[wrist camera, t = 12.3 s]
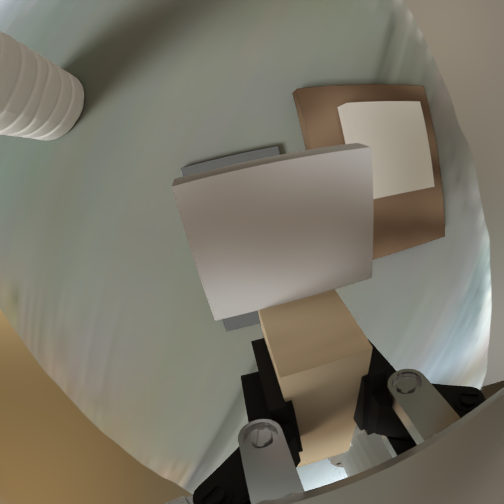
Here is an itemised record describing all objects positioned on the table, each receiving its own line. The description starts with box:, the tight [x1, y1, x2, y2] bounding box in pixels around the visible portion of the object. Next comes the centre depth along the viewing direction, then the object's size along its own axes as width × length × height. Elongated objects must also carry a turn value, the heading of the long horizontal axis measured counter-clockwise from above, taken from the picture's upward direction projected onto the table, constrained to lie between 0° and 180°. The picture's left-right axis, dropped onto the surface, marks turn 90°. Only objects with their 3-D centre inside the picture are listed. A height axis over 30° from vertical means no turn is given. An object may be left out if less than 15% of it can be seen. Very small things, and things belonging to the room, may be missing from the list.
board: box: [293, 84, 445, 260], centre depth 24 cm, size 16×14×2 cm
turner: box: [172, 143, 373, 467], centre depth 9 cm, size 13×6×4 cm, turn 12°
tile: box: [337, 101, 435, 199], centre depth 22 cm, size 2×8×8 cm
